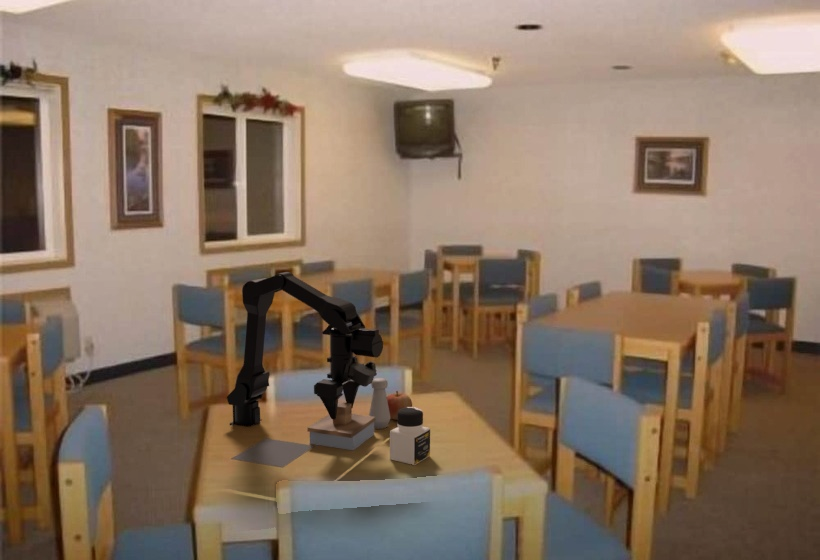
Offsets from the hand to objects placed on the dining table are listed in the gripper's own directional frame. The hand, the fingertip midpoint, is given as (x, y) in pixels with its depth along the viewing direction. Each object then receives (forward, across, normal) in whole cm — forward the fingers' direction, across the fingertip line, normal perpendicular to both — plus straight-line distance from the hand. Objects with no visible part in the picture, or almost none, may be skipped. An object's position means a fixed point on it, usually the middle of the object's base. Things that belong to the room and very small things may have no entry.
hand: (342, 413), depth 193 cm
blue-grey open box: (+7, 0, 0) cm, 7 cm away
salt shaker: (+7, +14, -4) cm, 16 cm away
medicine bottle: (+7, -4, -20) cm, 22 cm away
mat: (+7, -14, +11) cm, 20 cm away
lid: (+3, 0, 0) cm, 3 cm away
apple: (+7, +22, -6) cm, 24 cm away
